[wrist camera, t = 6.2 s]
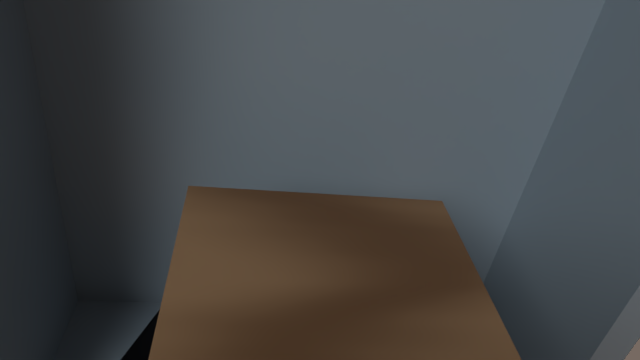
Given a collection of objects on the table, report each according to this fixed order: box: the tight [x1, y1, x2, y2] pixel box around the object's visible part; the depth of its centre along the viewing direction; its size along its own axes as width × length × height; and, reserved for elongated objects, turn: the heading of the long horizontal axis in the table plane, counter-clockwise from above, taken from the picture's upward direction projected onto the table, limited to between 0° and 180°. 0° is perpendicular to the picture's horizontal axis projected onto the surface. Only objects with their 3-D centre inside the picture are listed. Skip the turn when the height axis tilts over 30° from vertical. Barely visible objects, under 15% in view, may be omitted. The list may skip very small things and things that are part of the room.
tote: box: [0, 0, 640, 360], centre depth 9 cm, size 18×14×5 cm
